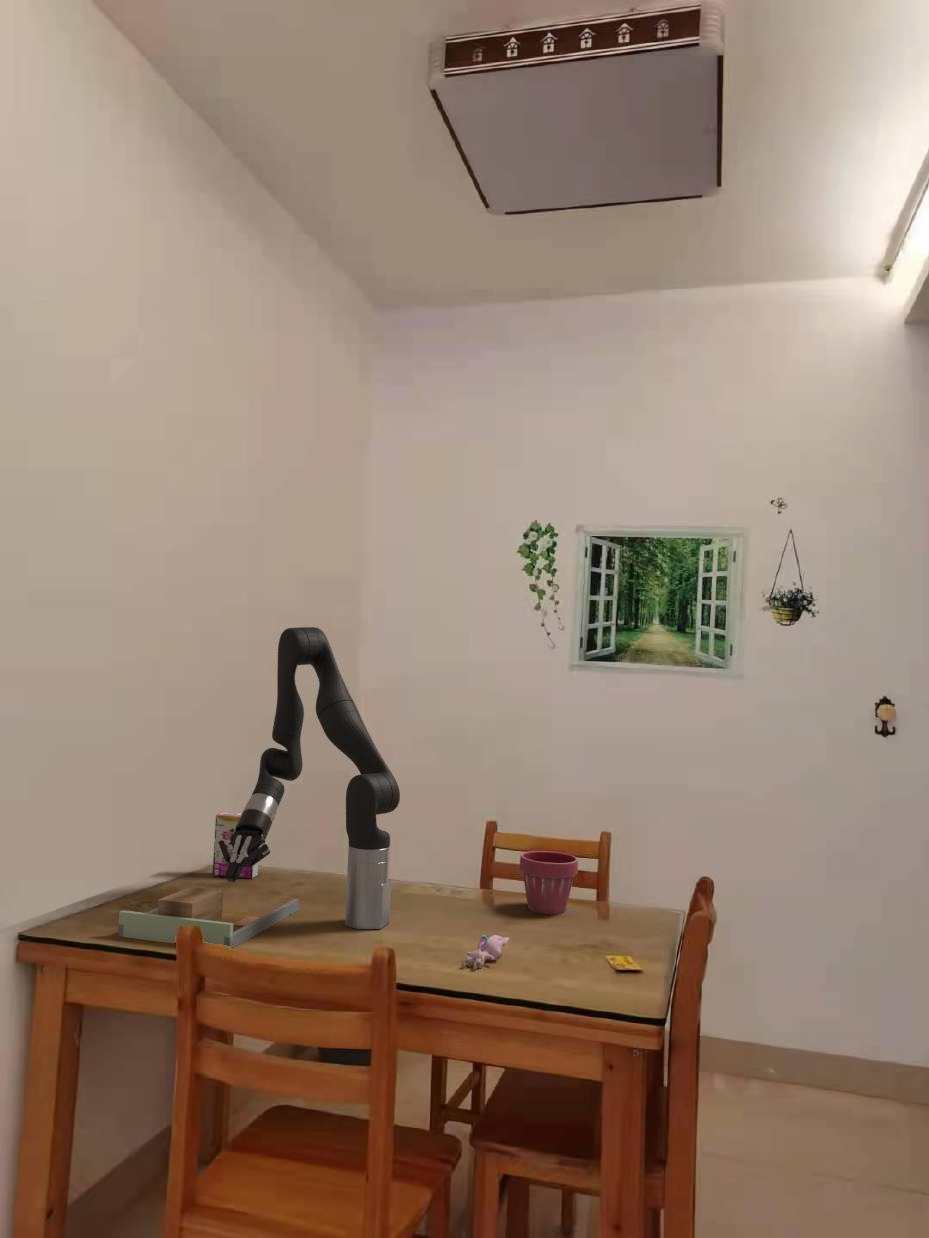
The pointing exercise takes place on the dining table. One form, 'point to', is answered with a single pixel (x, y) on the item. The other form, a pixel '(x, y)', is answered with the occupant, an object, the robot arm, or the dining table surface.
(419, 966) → the dining table surface
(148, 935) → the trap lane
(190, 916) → the walnut block
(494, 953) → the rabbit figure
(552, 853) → the plant pot
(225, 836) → the candy bar box
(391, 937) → the dining table surface
